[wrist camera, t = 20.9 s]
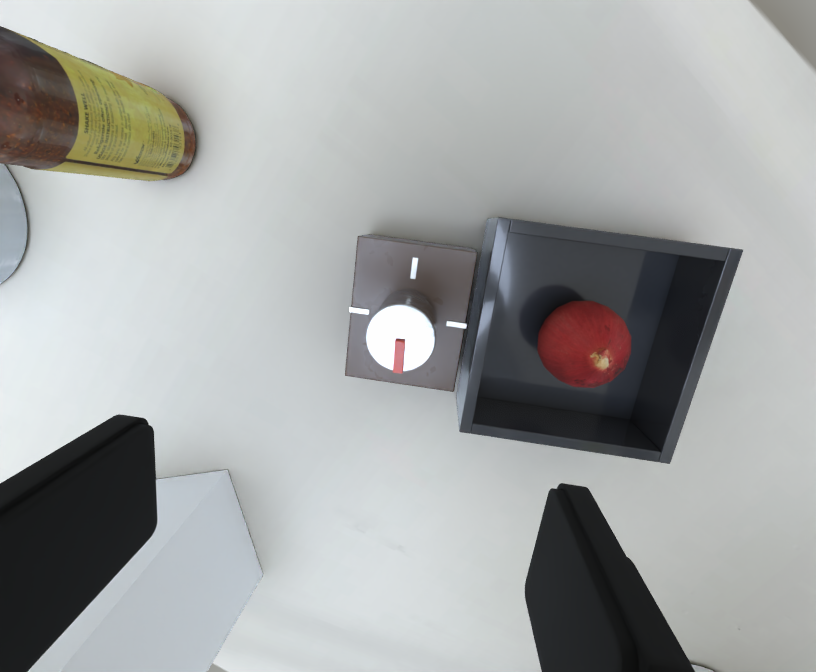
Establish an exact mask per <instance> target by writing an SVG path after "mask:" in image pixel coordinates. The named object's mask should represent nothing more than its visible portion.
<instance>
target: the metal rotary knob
mask: <svg viewBox="0 0 816 672" xmlns="http://www.w3.org/2000/svg"><path fill="white" fill-rule="evenodd" d="M436 323H437V315H436V310H435V307H434V305H433V303H432V301H431V300H430V299H429V298H428V297H427V296H426V295H425V294H423V293H421V292H419V291H417V290H413V289H401V290H398V291H395V292H393V293H392V294H390V295H389V296H388V297H387V298H386V299H385V300H384V301H383V303H382V304H381V306H380V307H379V308H378V310H377V311H376V312H375V314H374V315H373V317H372V318H371V320H370V321H369V323H368V326H367V329H366V345H367V348H368V351H369V353H370V354H371V356H372V357H373V359H374V360H375V361H376V362H377V363H378V364H380V365H381V366H383V367H384V368H387V369H389V370H392V371H393V373H401V374H402V373H403V372H406V371H411V370H414V369H417V368H419V367H420V366H422V365H423V364H424V363H426V362H427V361H428V359H429V358H430V357H431V355H432V353H433V351H434V348H435V344H436Z"/></svg>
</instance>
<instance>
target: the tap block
mask: <svg viewBox="0 0 816 672" xmlns="http://www.w3.org/2000/svg"><path fill="white" fill-rule="evenodd" d="M476 259H477V252H476V251H475V250H474V249H472V248H467V247H460V246H452V245H445V244H438V243H430V242H423V241H415V240H408V239H401V238H393V237H386V236H379V235H371V234H368V235H362V236H358V241H357V251H356V262H355V273H354V283H353V294H352V305H351V307H349V312H351V316H350V326H349V337H348V348H347V359H346V369H345V376H351V377H358V378H365V379H371V380H378V381H385V382H392V383H398V384H405V385H412V386H418V387H425V388H432V389H439V390H445V391H452V392H453V391H454V387H455V382H456V376H457V370H458V364H459V358H460V352H461V347H462V341H463V335H464V329H466V328H467V323H466V318H467V312H468V306H469V300H470V294H471V288H472V283H473V277H474V271H475V265H476ZM401 289H413V290H417V291H419V292H421V293H423V294H425V295H426V296H427V297H428V298H429V299H430V300H431V301H432V303H433V305H434V307H435V310H436V315H437V323H436V344H435V348H434V351H433V353H432V355H431V357H430V358H429V359H428V361H427V362H426V363H424V364H423V365H422V366H420V367H419V368H417V369H414V370H411V371H406V372H403V373H402V374H401V373H393V371H392V370H389V369H387V368H384V367H383V366H381V365H380V364H378V363H377V362H376V361H375V360H374V359H373V357H372V356H371V354H370V353H369V351H368V348H367V345H366V329H367V326H368V323H369V321H370V320H371V318H372V317H373V315H374V314H375V312H376V311H377V310H378V308H379V307H380V306H381V304H382V303H383V301H384V300H385V299H386V298H387V297H388V296H389V295H390V294H392V293H393V292H395V291H398V290H401Z"/></svg>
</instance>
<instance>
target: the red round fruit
mask: <svg viewBox="0 0 816 672" xmlns="http://www.w3.org/2000/svg"><path fill="white" fill-rule="evenodd" d="M537 350H538V354H539V356H540V359H541V361H542V363H543V366H544V367H545V368H546V369H547V370H548V371H549V372H550V373H551V374H552V375H553V376H554V377H556V378H557V379H558V380H559V381H562V382H564V383H566V384H568V385H571V386H573V387H586V388H594V387H597V386H600V385H603V384H605V383H608V382H611V381H612V380H613V379H614V378H615V377H617V376H618V375H619V374H620V373H621V372H622V371H623V370H624V369H625V367H626V364H627V362H628V359H629V357H630V354H631V335H630V333H629V331H628V328H627V326H626V324H625V322H624V320H623V319H622V318H621V317H620V316H618V315H617V314H616V313H615V312H614V311H613V310H611V309H610V308H609V307H607V306H605V305H602V304H599V303H597V302H594V301H571V302H569V303H567V304H564V305H562V306H560V307H558V308H556V309H555V310H554V311H553V312H552V313H551V314H550V315H549V316H548V317H547V318H546V319H545V321H544V323H543V325H542V327H541V328H540V330H539V332H538V346H537Z"/></svg>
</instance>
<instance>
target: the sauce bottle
mask: <svg viewBox="0 0 816 672" xmlns="http://www.w3.org/2000/svg"><path fill="white" fill-rule="evenodd" d="M195 145H196V142H195V133H194V130H193V127H192V123H191V122H190V120H189V118H188V116H187V115H186V113H185V112H184V110H183V109H182V108H181V107H180V106H179V105H178V104H176V103H175V102H174V101H172V100H170V99H168V98H166V97H165V96H164V95H162V94H161V93H160V92H158V91H156V90H155V89H153V88H151V87H149V86H146V85H144V84H141V83H138V82H136V81H134V80H131V79H129V78H127V77H124V76H122V75H119V74H117V73H114V72H112V71H109V70H107V69H105V68H103V67H100V66H98V65H96V64H94V63H91V62H89V61H86V60H84V59H80V58H77V57H75V56H72V55H70V54H68V53H66V52H63V51H60V50H58V49H56V48H53V47H50V46H48V45H45V44H43V43H41V42H38V41H37V40H35V39H32V38H29V37H26V36H24V35H21V34H19V33H16V32H14V31H11V30H9V29H6V28H4V27H1V26H0V163H1V164H11V165H19V166H24V167H27V168H31V169H37V170H47V171H57V172H67V173H77V174H87V175H97V176H106V177H115V178H125V179H135V180H145V181H157V180H167V179H170V178H174V177H177V176H179V175H181V174H183V173H184V172H185V171H186V170H187V169H188V167H189V166H190V163H191V162H192V158H193V156H194V153H195V147H196V146H195Z"/></svg>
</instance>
